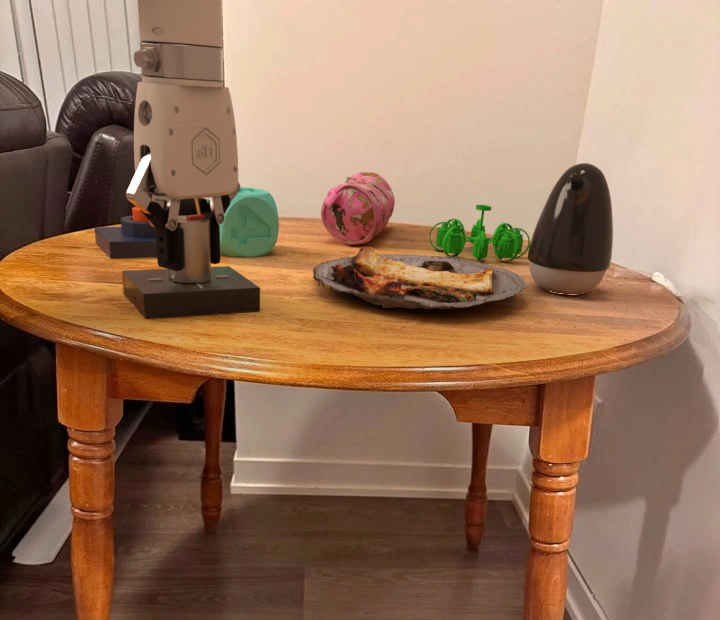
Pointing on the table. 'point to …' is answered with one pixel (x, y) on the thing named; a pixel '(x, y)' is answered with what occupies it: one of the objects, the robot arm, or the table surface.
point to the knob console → (190, 293)
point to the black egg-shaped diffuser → (573, 233)
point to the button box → (127, 239)
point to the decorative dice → (249, 224)
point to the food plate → (418, 280)
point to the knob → (194, 250)
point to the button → (139, 215)
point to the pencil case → (358, 208)
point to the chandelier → (479, 238)
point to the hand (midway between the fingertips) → (189, 263)
